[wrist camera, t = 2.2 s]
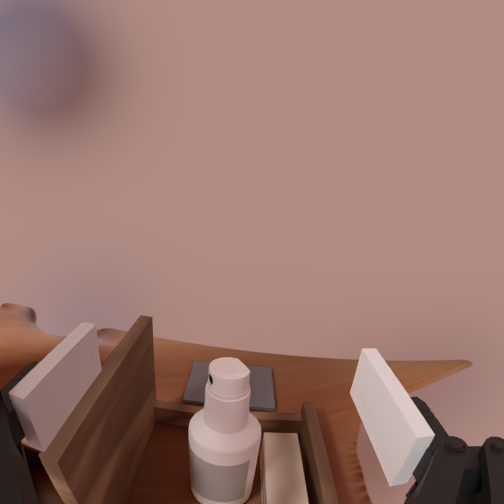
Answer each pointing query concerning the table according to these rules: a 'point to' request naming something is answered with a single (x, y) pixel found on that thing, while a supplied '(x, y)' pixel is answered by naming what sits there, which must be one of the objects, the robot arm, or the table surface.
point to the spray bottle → (224, 437)
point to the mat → (258, 383)
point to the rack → (151, 410)
